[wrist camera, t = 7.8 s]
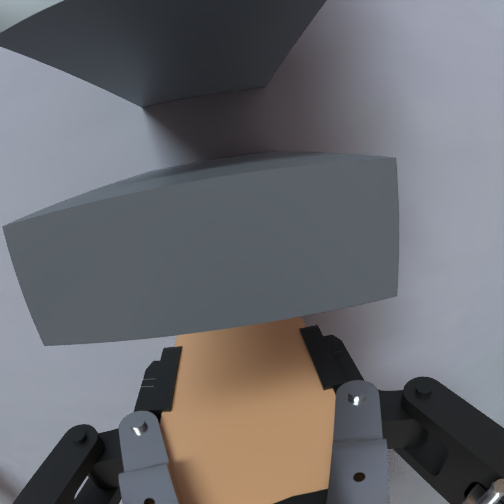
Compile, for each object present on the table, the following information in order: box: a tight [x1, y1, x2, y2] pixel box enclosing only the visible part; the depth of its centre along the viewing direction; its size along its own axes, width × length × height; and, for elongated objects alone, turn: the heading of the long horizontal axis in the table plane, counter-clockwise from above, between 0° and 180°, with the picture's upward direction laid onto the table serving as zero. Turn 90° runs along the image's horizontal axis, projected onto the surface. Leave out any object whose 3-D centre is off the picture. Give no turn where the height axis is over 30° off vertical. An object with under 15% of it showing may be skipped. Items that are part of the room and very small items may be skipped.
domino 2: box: [2, 151, 399, 346], centre depth 8 cm, size 2×5×10 cm, turn 98°
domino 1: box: [0, 0, 326, 107], centre depth 7 cm, size 2×5×10 cm, turn 98°
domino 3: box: [160, 317, 336, 504], centre depth 9 cm, size 2×5×10 cm, turn 98°
